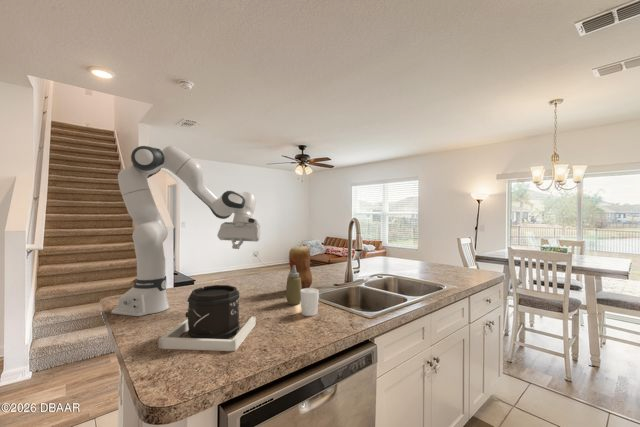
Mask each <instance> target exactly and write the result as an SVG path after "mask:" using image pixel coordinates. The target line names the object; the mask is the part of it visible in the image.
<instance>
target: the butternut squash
mask: <svg viewBox="0 0 640 427" xmlns="http://www.w3.org/2000/svg"><path fill="white" fill-rule="evenodd" d="M310 253H311V252H310V249H309V248H308V247H307V246H306V245H298V246H294V247H292V248H290V250H289V255H288V260H289V262H288V263H289V267H290V270H289V272H288V275H287V278H286V280H287V279H288V278H289V273H291V272H292V267H293V265H295V267H296V271H297V273H299V277H300V278H301V286H302V289H305V288H311V285H312V283H313V276H312V275H313V274H312V271H311V256H310V255H311V254H310Z"/></svg>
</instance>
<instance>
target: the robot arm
mask: <svg viewBox="0 0 640 427" xmlns="http://www.w3.org/2000/svg"><path fill="white" fill-rule="evenodd" d="M130 161H131V163H132V164H131V165H130V167H126V168H123V169H121V170H120V171H119V172H118V174H117V182H118V187H119V191H120V194H121V197H122V199H123V202H124V205H125V208H126V210H127V213H128V215H129V216H130V217H131V219H132V221H133V222H134V224H135V226H136V227H135V228H134V229H133V232H132V241H133V245H134V253H135V258H136V278H135V279H133V280H131V281H130V282H131V283H130V284H132V285H133V286H132V287H131V288H130V289H129V290H128V291H126V292H124V293H123V294H122V295H121V296H120V297H119V299H118V303H117V306H116V307H114V308H113V309H112V310H111V313H110V314H114V315H115V314H117V315H124V316H133V317H142V316H144V315H145V316H146V315H150V314H151V315H152V314H156V313H160V312H163V311H166V310H168V309H169V308H170V304H169V300H168V296H167V276H166V257H165V250H164V242H165V241H166V239H167V238H168V234H169V233H168V228H167V226H166V224H165V222H164V219H163V217H162V215H161V213H160V212H159V209H158V207H157V205H156V202H155V199H154V196H153V193H152V191H151V188H150V185H149V183H148V179H149V178H150V177H153V176H155V175H156V174H158V173H159V172H160V171H161V169H166V170H168V171H169V172H171V173H172V174H173V175H175V176H176V177H177V178H179V179H180V181H182V182H183V183H184V184H185V185H186V186H187V187H188V189H189V190H190V191H191V192H192V193H193V194H194V195H195V196H196V197H197V198H198V199H199V200H201V202H203V203H204V204H205V205H206V206H207V207H208V208H209V210H210V211H211V212H212V214H213V215H214V216H215V217H216V218H217V219H221V220H227V219H228V218H230V217H231V216H232V214H234V216H233V220H232V221H231V222H230V221H228V222H227V221H224V222H223V223H221V224H220V227H219V229H218V232H217V234H216V235H217V238H218V239H219V241H231V243H232V246H231V248H232V249H233V250H239V249H240V248H241V246H242V245H243V243H244V242H259V241H260V240H261V224H260V223H259V221H258V220H257V219H255V218H253V214H254V212H255V208H256V202H257V201H256V198H255V195H253V194H252V193H251V192H249V191H244V192H243V191H242V192H236V191H233V190H226V191H224V192H223V193H222V194H221V195H220V197H217V196H216V195H215V194H214V193H213V192H212V191H211V190H210V189H208V187H207V186H206V185H205V183H204V169H203V167H202V166H201V164H200V163H199V162H198V161H197V160H196V159H194V157H192V156H191V155H189V154H187V152H185V151H183V150H182V149H180V148H178V147H177V146H174V145H168V146H166V147H164V148H163V149H160V148H157V147H152V146H149V145H140V146H137V147H135V148H134V149H133V150H132V152H131V155H130ZM236 242H238V243H236Z"/></svg>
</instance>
